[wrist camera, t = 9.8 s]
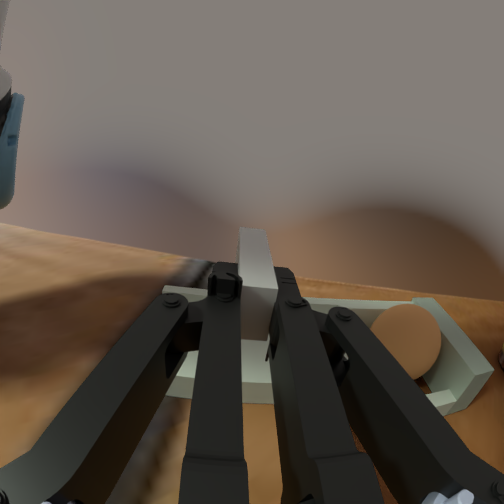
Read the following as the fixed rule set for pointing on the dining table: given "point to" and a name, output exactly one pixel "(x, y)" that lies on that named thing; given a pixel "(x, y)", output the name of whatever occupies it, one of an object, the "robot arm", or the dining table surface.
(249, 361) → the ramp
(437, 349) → the ball
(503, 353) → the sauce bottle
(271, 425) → the dining table surface
